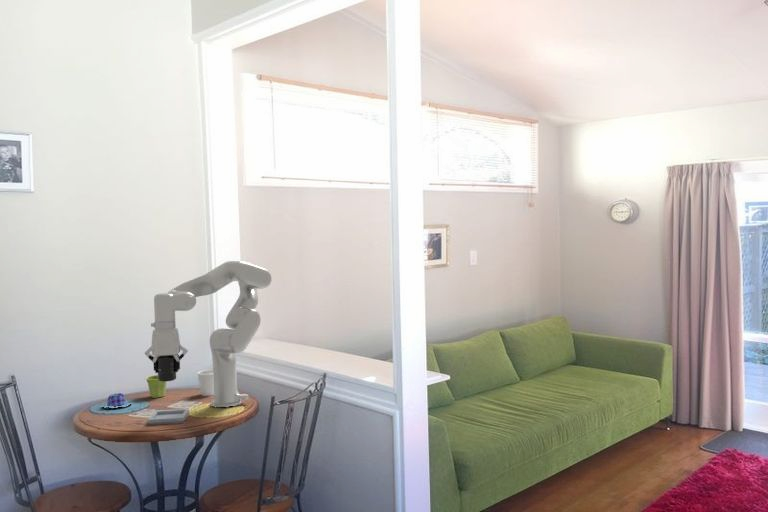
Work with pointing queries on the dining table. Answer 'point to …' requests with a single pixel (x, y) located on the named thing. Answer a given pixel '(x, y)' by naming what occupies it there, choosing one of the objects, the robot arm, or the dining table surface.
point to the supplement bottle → (166, 368)
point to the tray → (168, 417)
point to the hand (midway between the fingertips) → (167, 371)
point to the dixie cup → (206, 382)
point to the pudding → (116, 400)
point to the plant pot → (156, 386)
